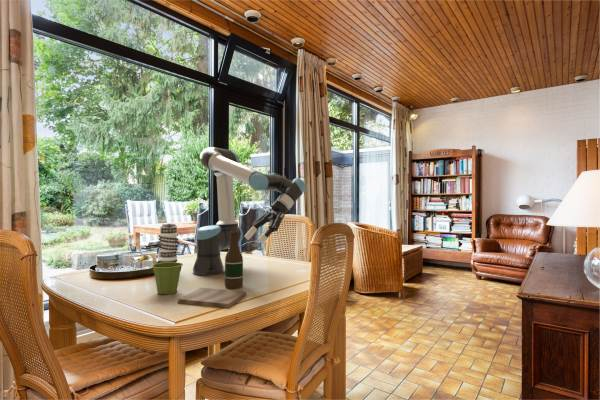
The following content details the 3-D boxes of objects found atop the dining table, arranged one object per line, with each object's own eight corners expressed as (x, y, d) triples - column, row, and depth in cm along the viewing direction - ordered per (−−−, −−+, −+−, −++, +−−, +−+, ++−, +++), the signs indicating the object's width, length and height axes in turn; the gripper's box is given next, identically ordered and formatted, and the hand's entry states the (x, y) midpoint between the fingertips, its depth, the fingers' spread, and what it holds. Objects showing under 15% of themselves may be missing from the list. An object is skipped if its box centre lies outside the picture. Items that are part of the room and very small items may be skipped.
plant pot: (189, 291, 139) (189, 263, 139) (164, 298, 129) (164, 268, 129) (169, 287, 145) (170, 260, 145) (144, 293, 135) (145, 265, 135)
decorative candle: (157, 272, 171) (158, 223, 171) (177, 271, 175) (177, 222, 175) (158, 276, 163) (159, 224, 162) (179, 275, 167) (179, 224, 166)
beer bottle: (240, 289, 142) (241, 232, 142) (222, 289, 143) (222, 232, 142) (244, 284, 150) (244, 230, 150) (226, 284, 150) (227, 230, 150)
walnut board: (177, 303, 124) (177, 299, 124) (200, 291, 139) (200, 287, 139) (228, 308, 119) (228, 303, 119) (246, 295, 134) (246, 291, 134)
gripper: (302, 212, 150) (272, 249, 141) (273, 210, 170) (246, 242, 162) (291, 200, 147) (260, 237, 138) (264, 199, 167) (235, 231, 159)
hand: (252, 240), depth 150 cm, fingers open, 13 cm apart
